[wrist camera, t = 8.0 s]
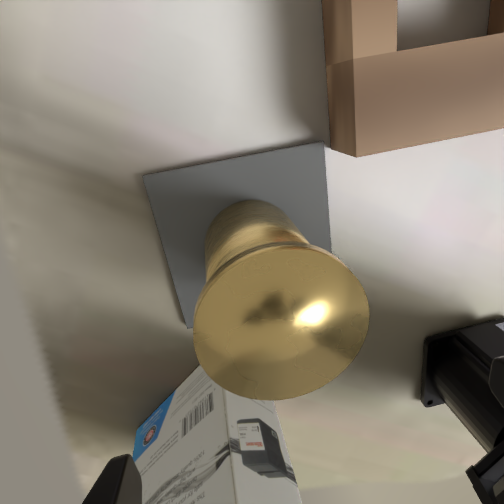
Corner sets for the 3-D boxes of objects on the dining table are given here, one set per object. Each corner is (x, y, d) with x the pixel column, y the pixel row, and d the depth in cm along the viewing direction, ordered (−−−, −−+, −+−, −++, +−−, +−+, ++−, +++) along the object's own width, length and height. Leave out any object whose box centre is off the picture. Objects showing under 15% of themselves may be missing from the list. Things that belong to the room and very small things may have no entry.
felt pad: (331, 291, 21) (334, 294, 21) (187, 324, 20) (187, 328, 20) (320, 140, 17) (323, 141, 17) (143, 175, 17) (142, 176, 16)
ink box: (190, 455, 25) (190, 719, 14) (132, 428, 23) (83, 709, 12) (272, 379, 23) (341, 613, 13) (217, 344, 21) (243, 583, 11)
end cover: (301, 181, 18) (371, 235, 11) (308, 283, 20) (368, 381, 13) (184, 200, 17) (175, 270, 10) (205, 302, 20) (210, 415, 13)
